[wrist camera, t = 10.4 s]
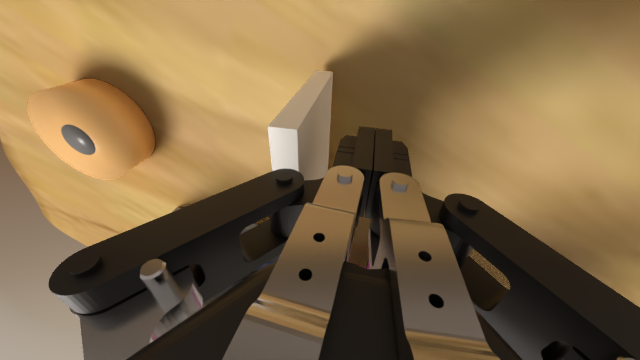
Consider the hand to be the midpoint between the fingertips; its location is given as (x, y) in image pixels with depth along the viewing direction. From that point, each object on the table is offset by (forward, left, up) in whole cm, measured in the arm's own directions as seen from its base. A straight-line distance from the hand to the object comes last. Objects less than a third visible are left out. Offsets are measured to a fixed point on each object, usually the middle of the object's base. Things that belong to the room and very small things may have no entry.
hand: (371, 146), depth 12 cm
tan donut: (-5, +20, -5) cm, 21 cm away
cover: (-5, +3, -5) cm, 8 cm away
